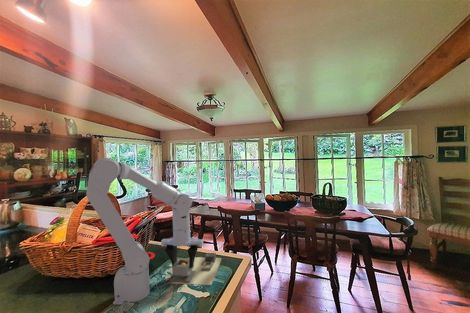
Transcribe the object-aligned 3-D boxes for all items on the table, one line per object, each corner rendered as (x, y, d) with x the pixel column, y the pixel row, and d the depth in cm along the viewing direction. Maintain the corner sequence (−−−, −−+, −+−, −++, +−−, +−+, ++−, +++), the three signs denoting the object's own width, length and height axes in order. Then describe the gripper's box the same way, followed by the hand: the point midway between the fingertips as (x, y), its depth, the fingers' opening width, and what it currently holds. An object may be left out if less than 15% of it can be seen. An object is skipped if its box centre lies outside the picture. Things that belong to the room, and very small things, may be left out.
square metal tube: (172, 275, 74) (172, 266, 74) (178, 266, 80) (178, 258, 80) (188, 275, 73) (188, 266, 73) (193, 266, 79) (193, 258, 79)
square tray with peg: (171, 281, 74) (170, 267, 74) (178, 271, 80) (177, 258, 80) (189, 282, 73) (188, 268, 73) (195, 271, 79) (194, 259, 79)
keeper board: (170, 286, 73) (169, 276, 73) (188, 259, 91) (188, 251, 91) (211, 287, 71) (211, 277, 71) (222, 260, 89) (221, 252, 89)
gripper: (205, 223, 79) (206, 261, 79) (166, 223, 81) (168, 260, 81) (199, 231, 72) (201, 271, 72) (157, 230, 74) (159, 270, 74)
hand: (183, 266), depth 76 cm, fingers closed on square metal tube, 5 cm apart
